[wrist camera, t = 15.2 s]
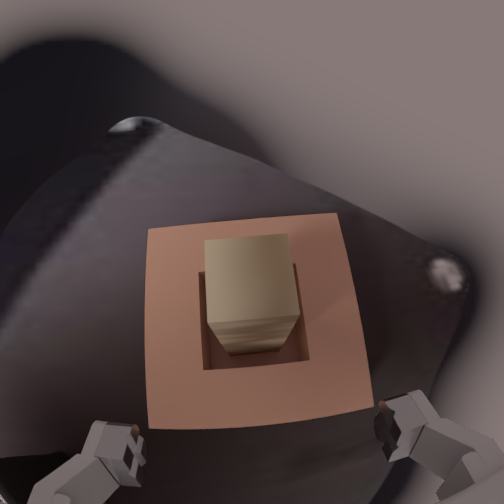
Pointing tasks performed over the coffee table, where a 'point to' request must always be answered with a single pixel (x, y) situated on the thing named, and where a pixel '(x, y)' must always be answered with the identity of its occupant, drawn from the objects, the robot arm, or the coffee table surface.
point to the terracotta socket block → (252, 365)
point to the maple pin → (250, 292)
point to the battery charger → (26, 475)
